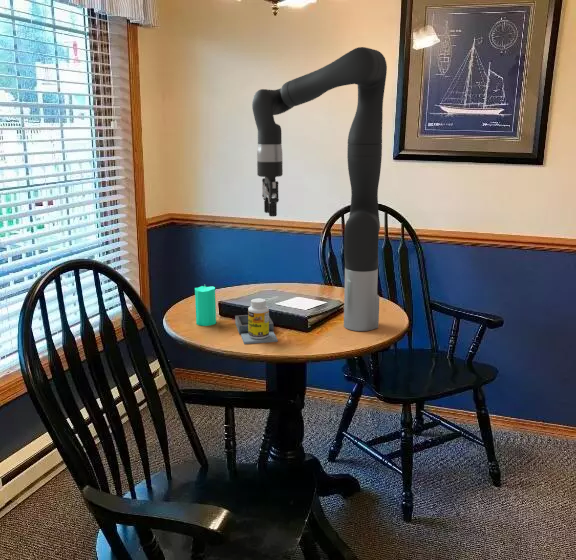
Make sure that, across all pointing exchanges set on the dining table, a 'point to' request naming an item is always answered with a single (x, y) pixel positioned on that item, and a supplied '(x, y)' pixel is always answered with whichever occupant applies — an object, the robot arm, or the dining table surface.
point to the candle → (205, 306)
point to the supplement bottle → (258, 319)
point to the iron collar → (244, 320)
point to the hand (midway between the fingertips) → (270, 214)
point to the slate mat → (249, 340)
